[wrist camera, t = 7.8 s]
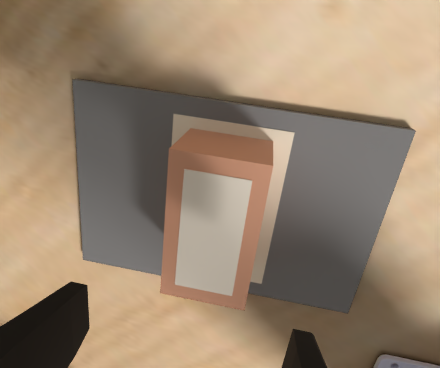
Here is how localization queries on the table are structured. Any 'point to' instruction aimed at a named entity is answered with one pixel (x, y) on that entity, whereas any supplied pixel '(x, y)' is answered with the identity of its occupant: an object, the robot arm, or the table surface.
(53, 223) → the table surface
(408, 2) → the table surface
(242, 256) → the pink box with label
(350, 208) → the charcoal mat
